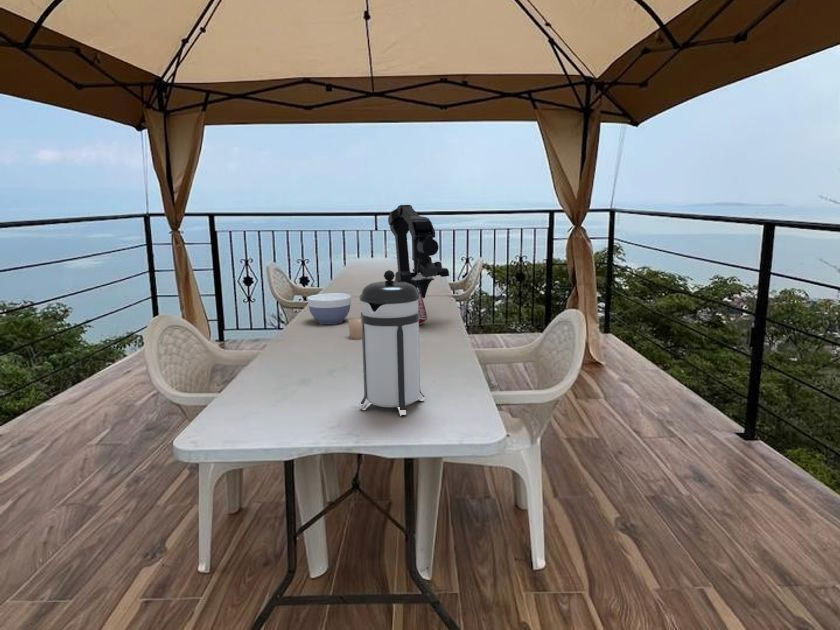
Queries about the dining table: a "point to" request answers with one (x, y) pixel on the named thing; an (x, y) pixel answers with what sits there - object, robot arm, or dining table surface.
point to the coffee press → (390, 343)
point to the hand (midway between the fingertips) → (423, 298)
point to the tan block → (355, 328)
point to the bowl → (329, 307)
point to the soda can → (421, 310)
